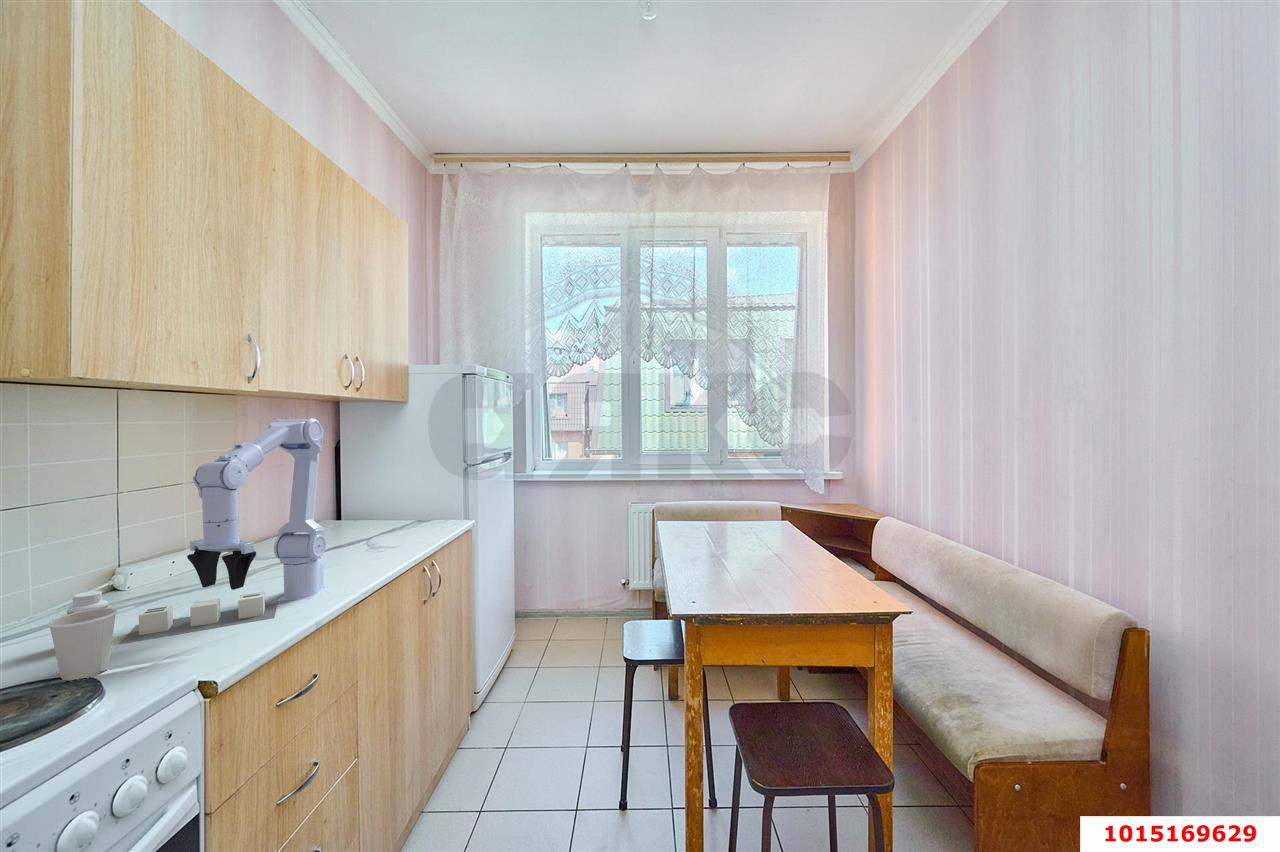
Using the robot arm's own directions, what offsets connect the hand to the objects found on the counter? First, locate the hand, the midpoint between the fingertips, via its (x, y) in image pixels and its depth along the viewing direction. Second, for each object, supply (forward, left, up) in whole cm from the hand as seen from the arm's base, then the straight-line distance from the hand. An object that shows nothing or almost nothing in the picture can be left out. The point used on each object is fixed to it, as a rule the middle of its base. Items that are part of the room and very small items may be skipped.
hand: (223, 587), depth 109 cm
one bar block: (-11, 0, -9) cm, 14 cm away
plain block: (-8, -8, -9) cm, 14 cm away
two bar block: (-5, -15, -9) cm, 18 cm away
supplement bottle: (0, -24, -10) cm, 26 cm away
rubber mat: (-8, -8, -10) cm, 15 cm away
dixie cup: (+14, -14, -10) cm, 22 cm away
